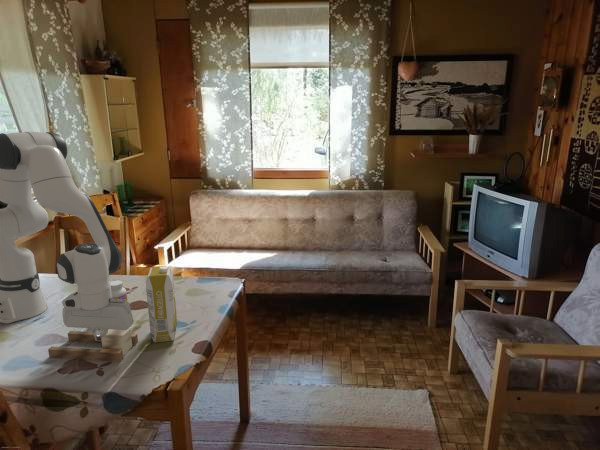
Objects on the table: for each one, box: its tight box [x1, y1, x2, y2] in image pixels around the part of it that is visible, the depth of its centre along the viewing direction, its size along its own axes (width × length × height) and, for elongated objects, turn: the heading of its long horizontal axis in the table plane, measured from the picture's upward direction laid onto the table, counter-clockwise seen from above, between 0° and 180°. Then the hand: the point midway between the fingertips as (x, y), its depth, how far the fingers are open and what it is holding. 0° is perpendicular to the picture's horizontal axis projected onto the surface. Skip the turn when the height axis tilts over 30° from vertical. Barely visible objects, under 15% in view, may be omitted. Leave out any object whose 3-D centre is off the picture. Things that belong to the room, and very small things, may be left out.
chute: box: [47, 330, 139, 363], centre depth 132 cm, size 22×11×4 cm, turn 84°
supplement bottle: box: [109, 280, 128, 302], centre depth 155 cm, size 7×7×13 cm
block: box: [101, 328, 133, 357], centre depth 131 cm, size 6×6×6 cm
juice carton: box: [145, 265, 178, 343], centre depth 139 cm, size 9×8×24 cm
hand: (101, 340), depth 131 cm, fingers closed
